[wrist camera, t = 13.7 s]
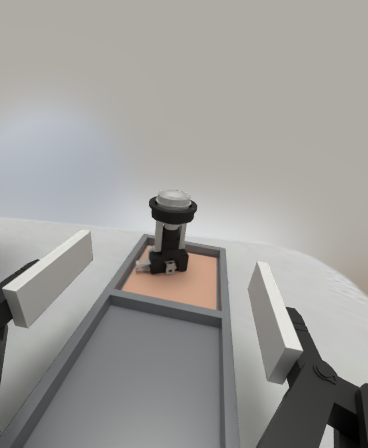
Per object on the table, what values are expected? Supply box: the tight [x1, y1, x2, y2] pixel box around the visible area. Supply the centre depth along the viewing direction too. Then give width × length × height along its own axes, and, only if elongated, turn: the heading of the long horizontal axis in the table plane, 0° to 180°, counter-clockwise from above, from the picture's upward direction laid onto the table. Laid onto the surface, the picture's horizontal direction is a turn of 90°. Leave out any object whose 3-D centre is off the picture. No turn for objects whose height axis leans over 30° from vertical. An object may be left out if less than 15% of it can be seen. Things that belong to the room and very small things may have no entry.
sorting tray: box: [0, 234, 240, 448], centre depth 20 cm, size 13×24×2 cm, turn 172°
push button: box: [136, 190, 197, 275], centre depth 24 cm, size 7×5×10 cm
